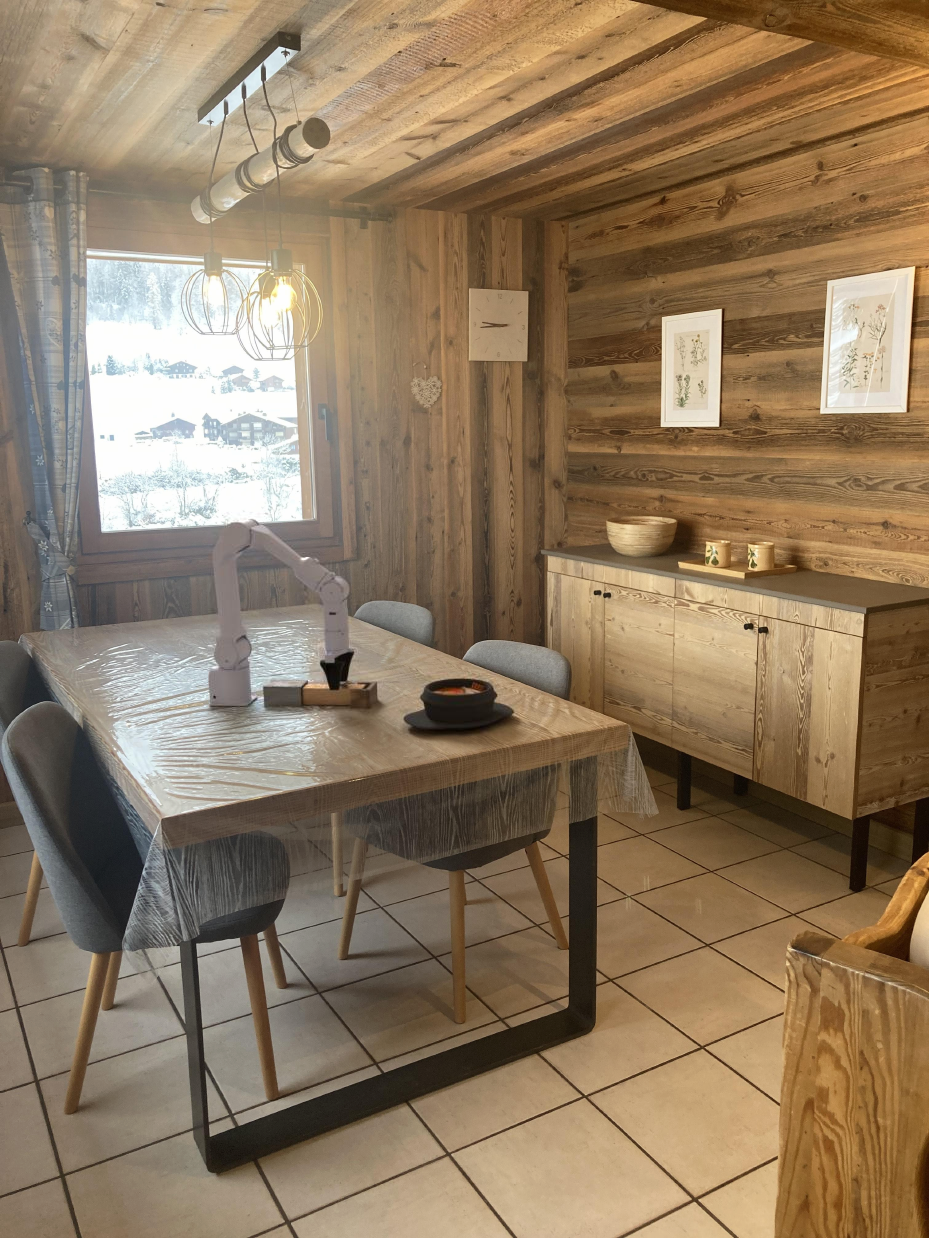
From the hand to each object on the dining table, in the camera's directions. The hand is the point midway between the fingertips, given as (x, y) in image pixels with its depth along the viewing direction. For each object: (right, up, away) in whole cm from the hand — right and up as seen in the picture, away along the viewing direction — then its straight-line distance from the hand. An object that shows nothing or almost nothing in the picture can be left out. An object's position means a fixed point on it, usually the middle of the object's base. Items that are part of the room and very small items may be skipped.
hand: (338, 685), depth 232 cm
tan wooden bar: (-2, -4, +1) cm, 5 cm away
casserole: (+29, -7, -17) cm, 34 cm away
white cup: (-4, -1, +21) cm, 22 cm away
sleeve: (-13, -4, +2) cm, 14 cm away
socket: (+6, -4, 0) cm, 7 cm away
